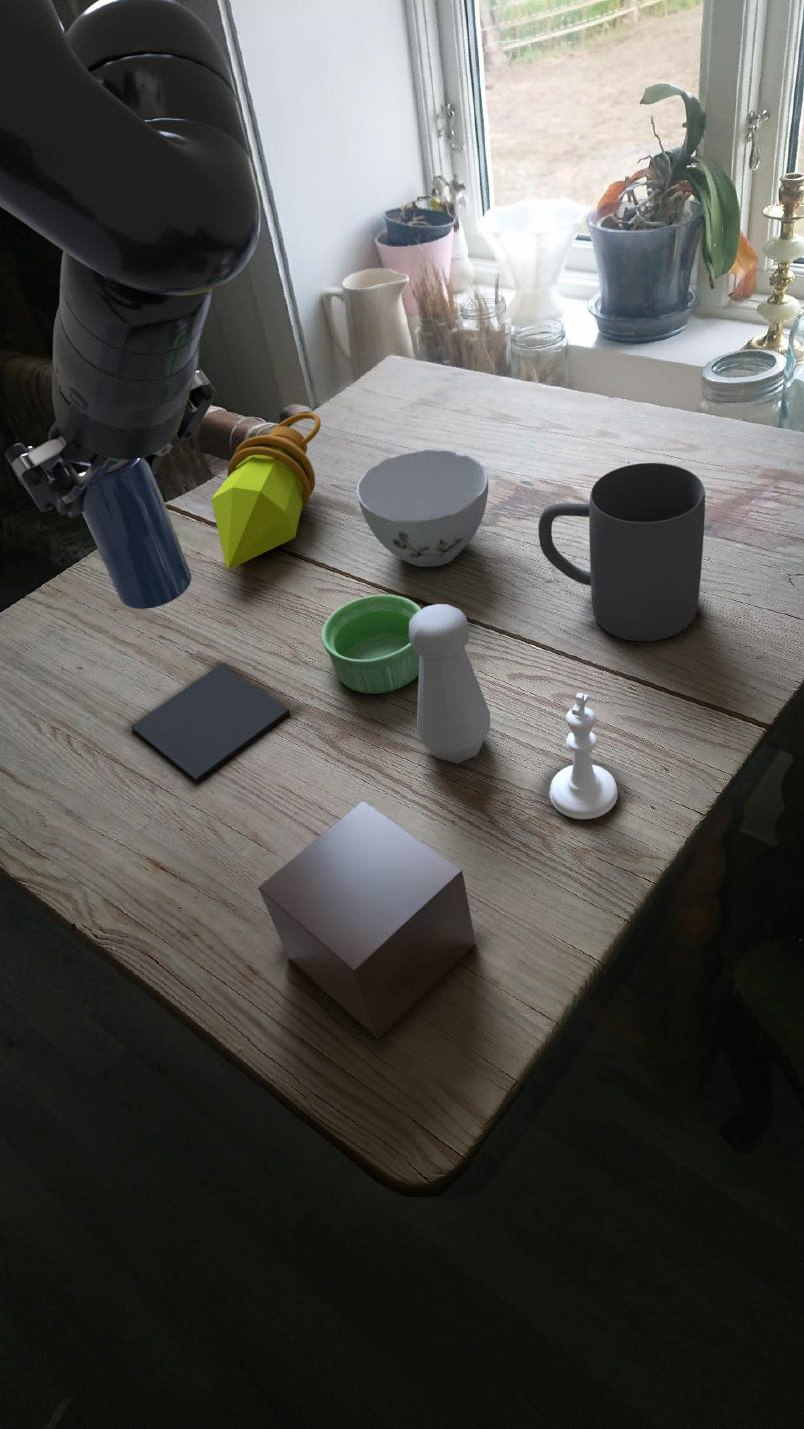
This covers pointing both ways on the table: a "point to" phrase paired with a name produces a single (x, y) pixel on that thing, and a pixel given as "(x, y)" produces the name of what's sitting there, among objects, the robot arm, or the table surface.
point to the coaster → (209, 721)
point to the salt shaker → (447, 685)
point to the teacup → (425, 504)
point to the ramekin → (372, 643)
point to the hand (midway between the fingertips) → (105, 484)
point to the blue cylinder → (136, 535)
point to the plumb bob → (264, 492)
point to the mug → (639, 549)
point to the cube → (371, 915)
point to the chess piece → (582, 771)
